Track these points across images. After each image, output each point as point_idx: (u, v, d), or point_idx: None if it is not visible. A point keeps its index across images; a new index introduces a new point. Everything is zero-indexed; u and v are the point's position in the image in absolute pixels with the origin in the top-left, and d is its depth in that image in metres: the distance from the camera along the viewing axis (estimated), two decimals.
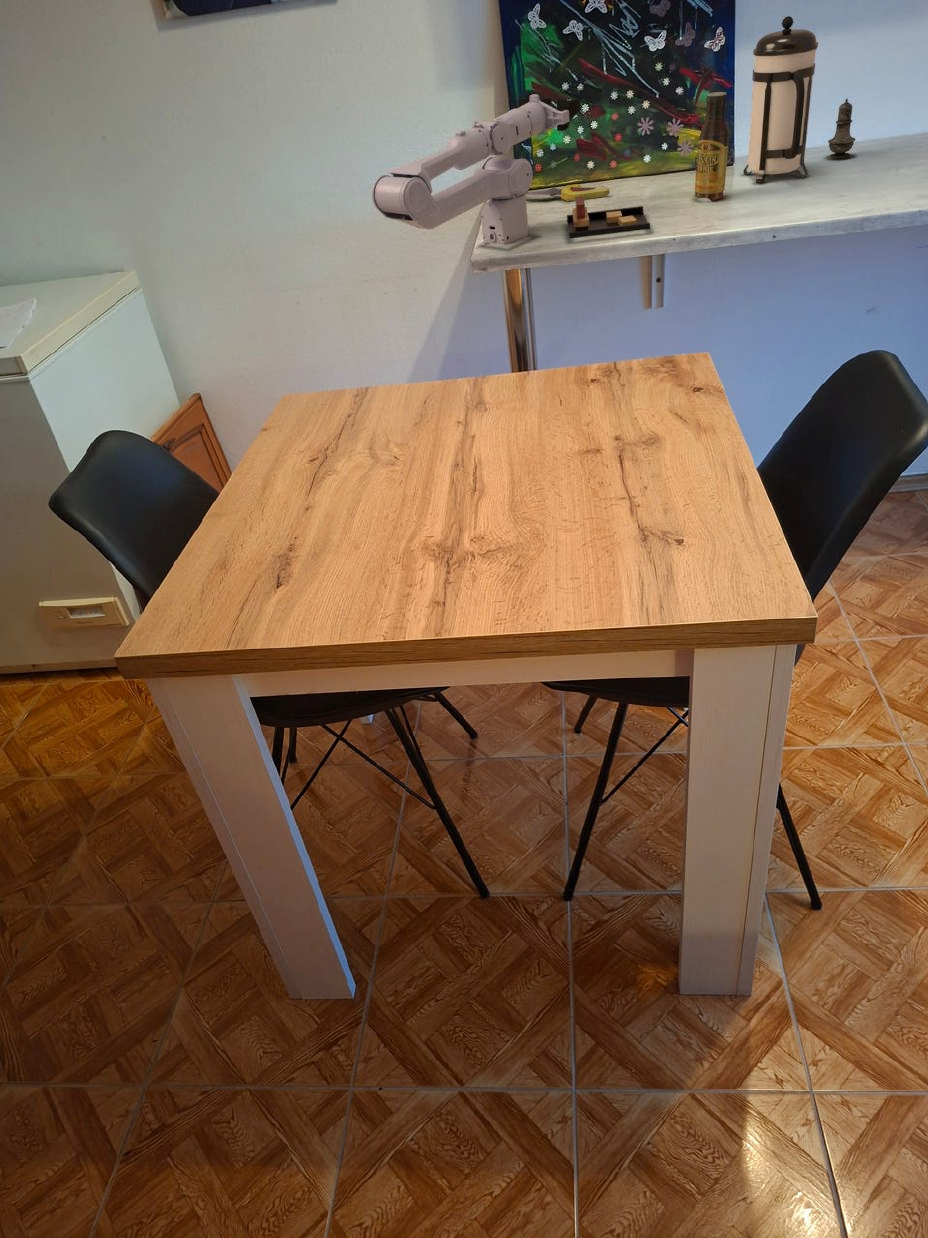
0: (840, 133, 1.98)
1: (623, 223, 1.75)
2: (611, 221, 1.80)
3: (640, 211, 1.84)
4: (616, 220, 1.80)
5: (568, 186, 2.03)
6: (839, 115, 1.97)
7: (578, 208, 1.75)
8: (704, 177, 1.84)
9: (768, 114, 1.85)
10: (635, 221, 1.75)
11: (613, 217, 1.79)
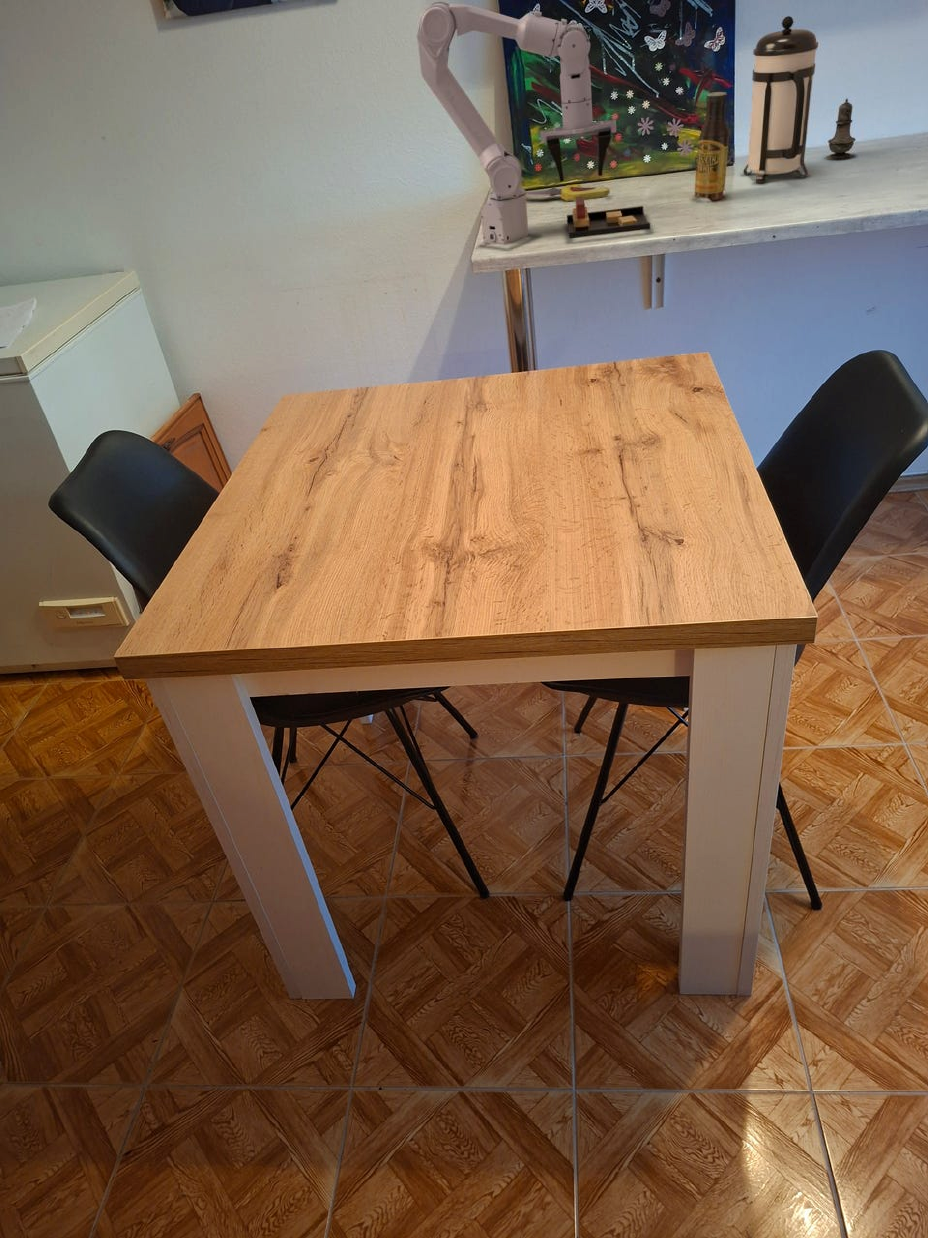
0: (840, 133, 1.98)
1: (623, 223, 1.75)
2: (611, 221, 1.80)
3: (640, 211, 1.84)
4: (616, 220, 1.80)
5: (568, 186, 2.03)
6: (839, 115, 1.97)
7: (578, 208, 1.75)
8: (704, 177, 1.84)
9: (768, 114, 1.85)
10: (635, 221, 1.75)
11: (613, 217, 1.79)
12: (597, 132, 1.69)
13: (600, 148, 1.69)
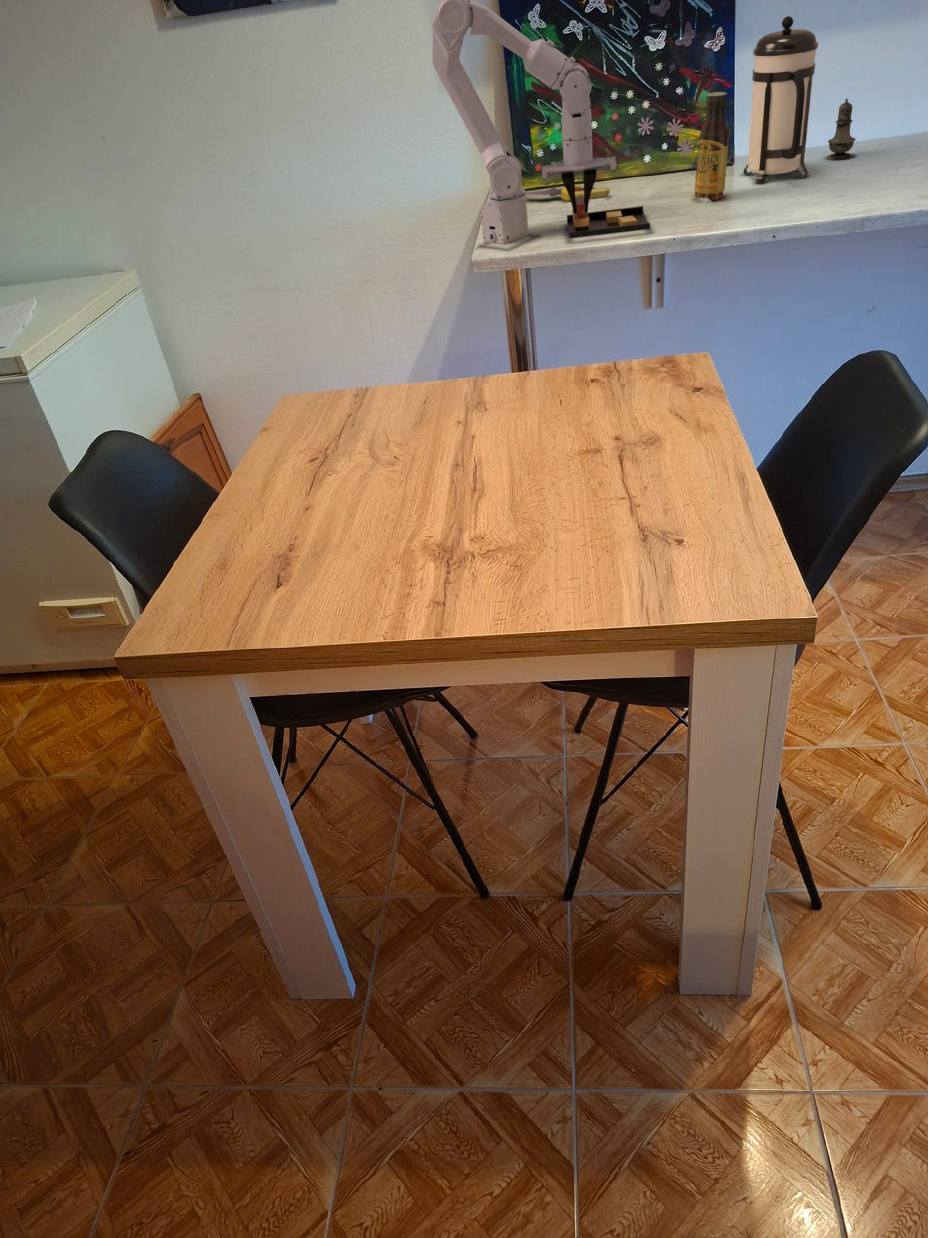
0: (840, 133, 1.98)
1: (623, 223, 1.75)
2: (611, 221, 1.80)
3: (640, 211, 1.84)
4: (616, 220, 1.80)
5: None
6: (839, 115, 1.97)
7: (578, 208, 1.75)
8: (704, 177, 1.84)
9: (768, 114, 1.85)
10: (635, 221, 1.75)
11: (613, 217, 1.79)
12: (597, 169, 1.73)
13: (586, 186, 1.74)
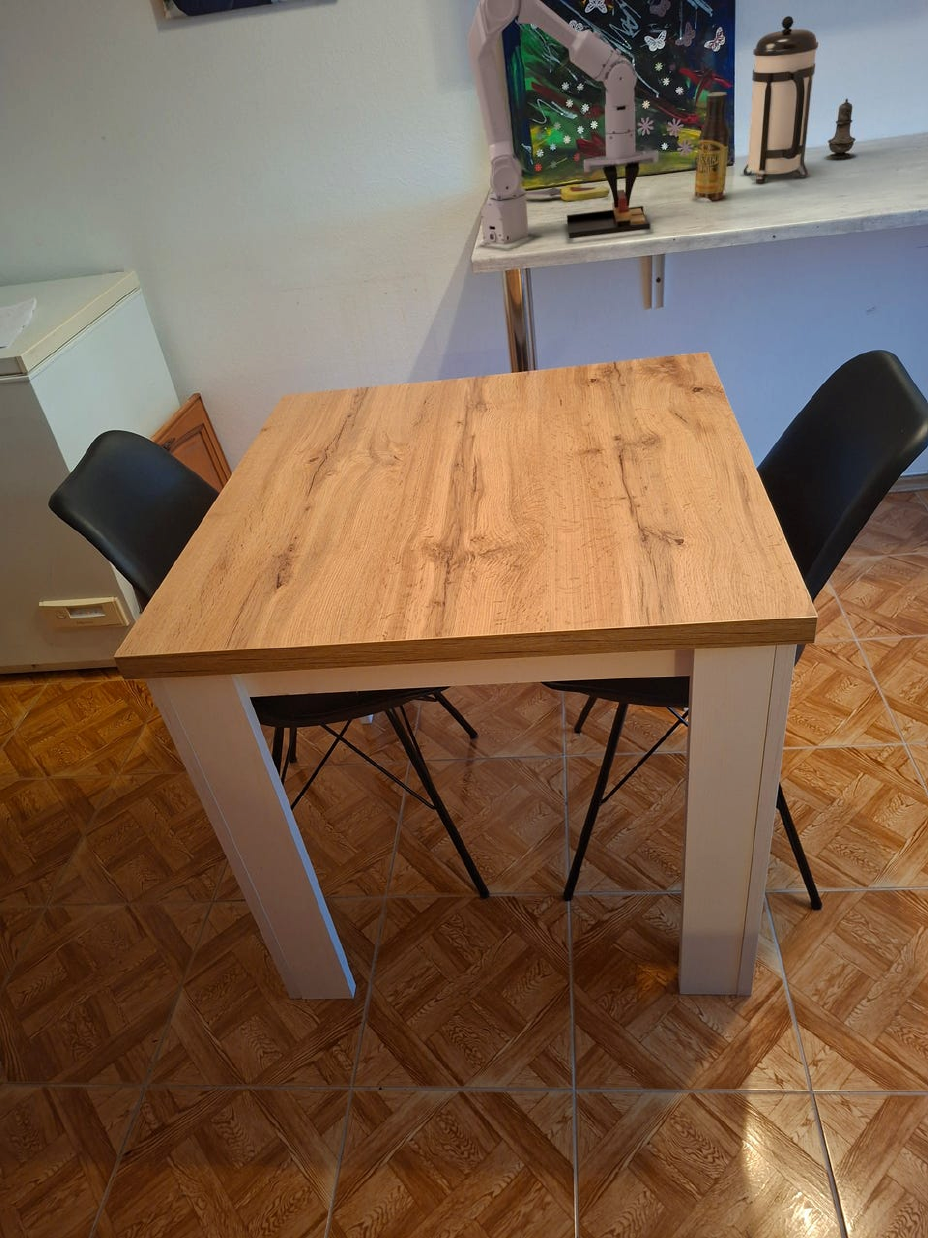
0: (840, 133, 1.98)
1: (631, 222, 1.75)
2: None
3: None
4: None
5: (568, 186, 2.03)
6: (839, 115, 1.97)
7: (620, 202, 1.74)
8: (704, 177, 1.84)
9: (768, 114, 1.85)
10: (643, 221, 1.75)
11: (633, 214, 1.79)
12: (639, 162, 1.72)
13: (628, 180, 1.73)
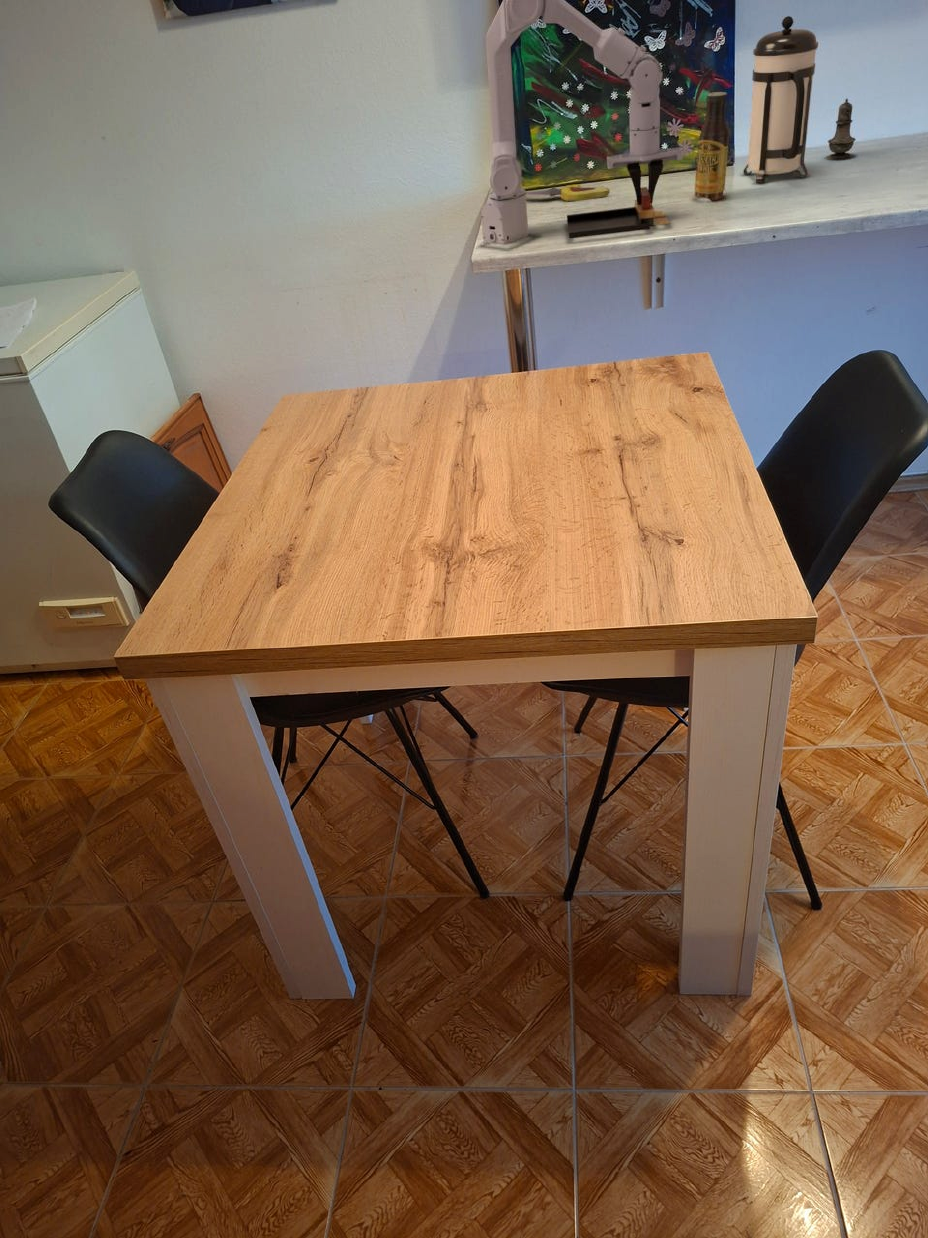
0: (840, 133, 1.98)
1: None
2: None
3: None
4: None
5: (568, 186, 2.03)
6: (839, 115, 1.97)
7: (644, 199, 1.73)
8: (704, 177, 1.84)
9: (768, 114, 1.85)
10: (667, 223, 1.75)
11: (655, 217, 1.79)
12: (663, 159, 1.72)
13: (652, 177, 1.72)
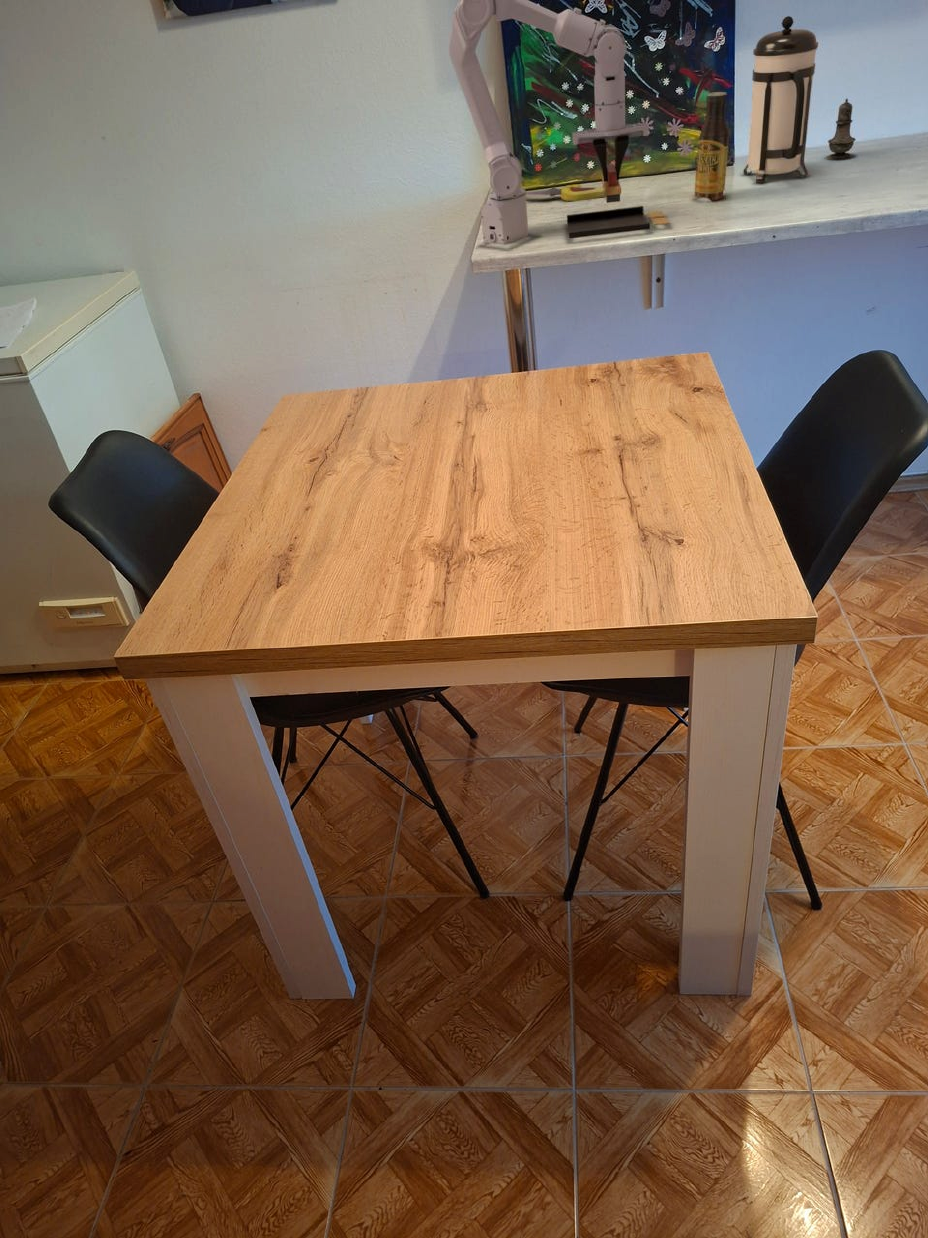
0: (840, 133, 1.98)
1: None
2: None
3: (640, 211, 1.84)
4: None
5: (568, 186, 2.03)
6: (839, 115, 1.97)
7: (610, 175, 1.71)
8: (704, 177, 1.84)
9: (768, 114, 1.85)
10: (667, 223, 1.75)
11: (655, 217, 1.79)
12: (629, 135, 1.69)
13: (618, 153, 1.70)
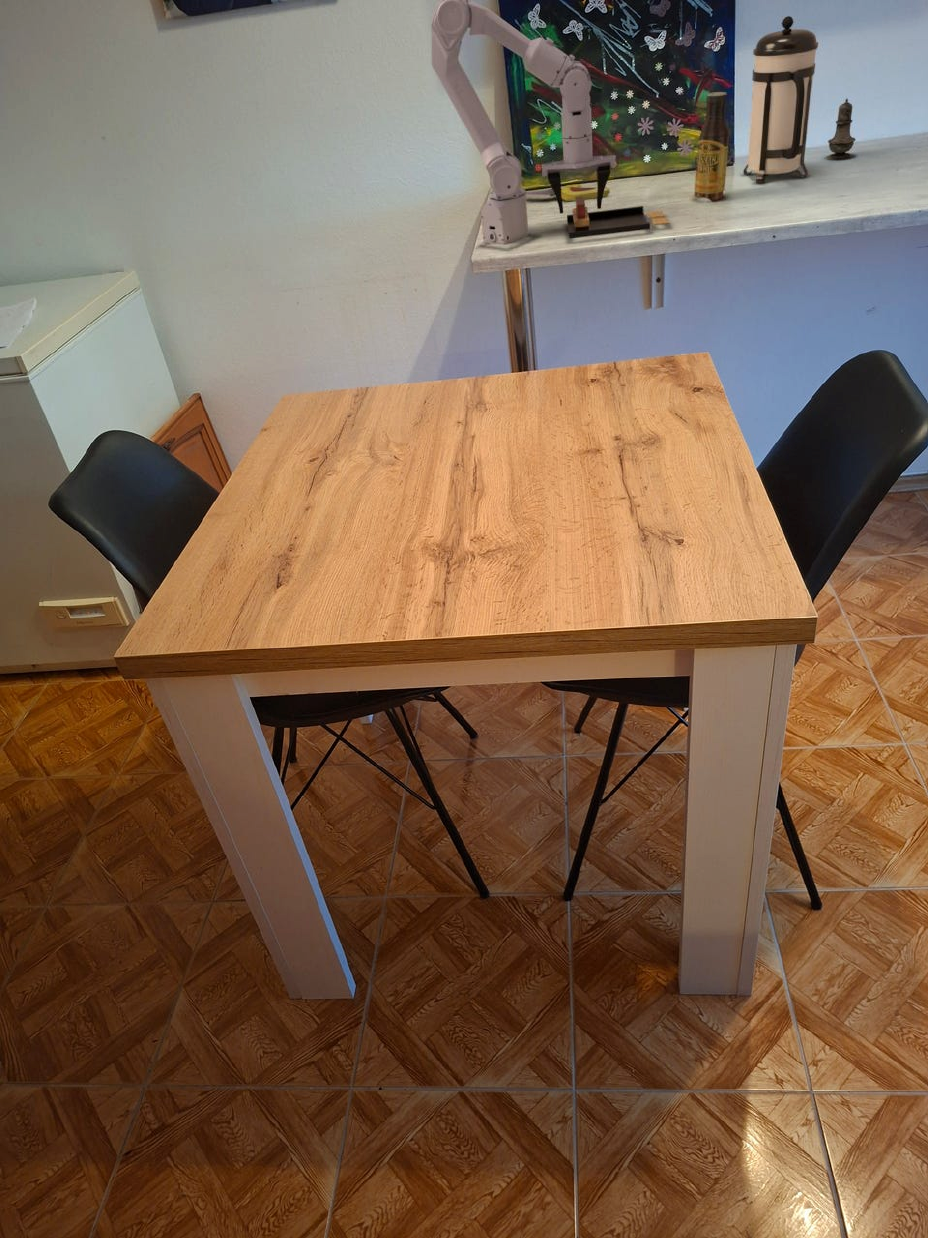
0: (840, 133, 1.98)
1: None
2: None
3: (640, 211, 1.84)
4: None
5: (568, 186, 2.03)
6: (839, 115, 1.97)
7: (578, 208, 1.75)
8: (704, 177, 1.84)
9: (768, 114, 1.85)
10: (667, 223, 1.75)
11: (655, 217, 1.79)
12: (597, 167, 1.73)
13: (599, 182, 1.73)
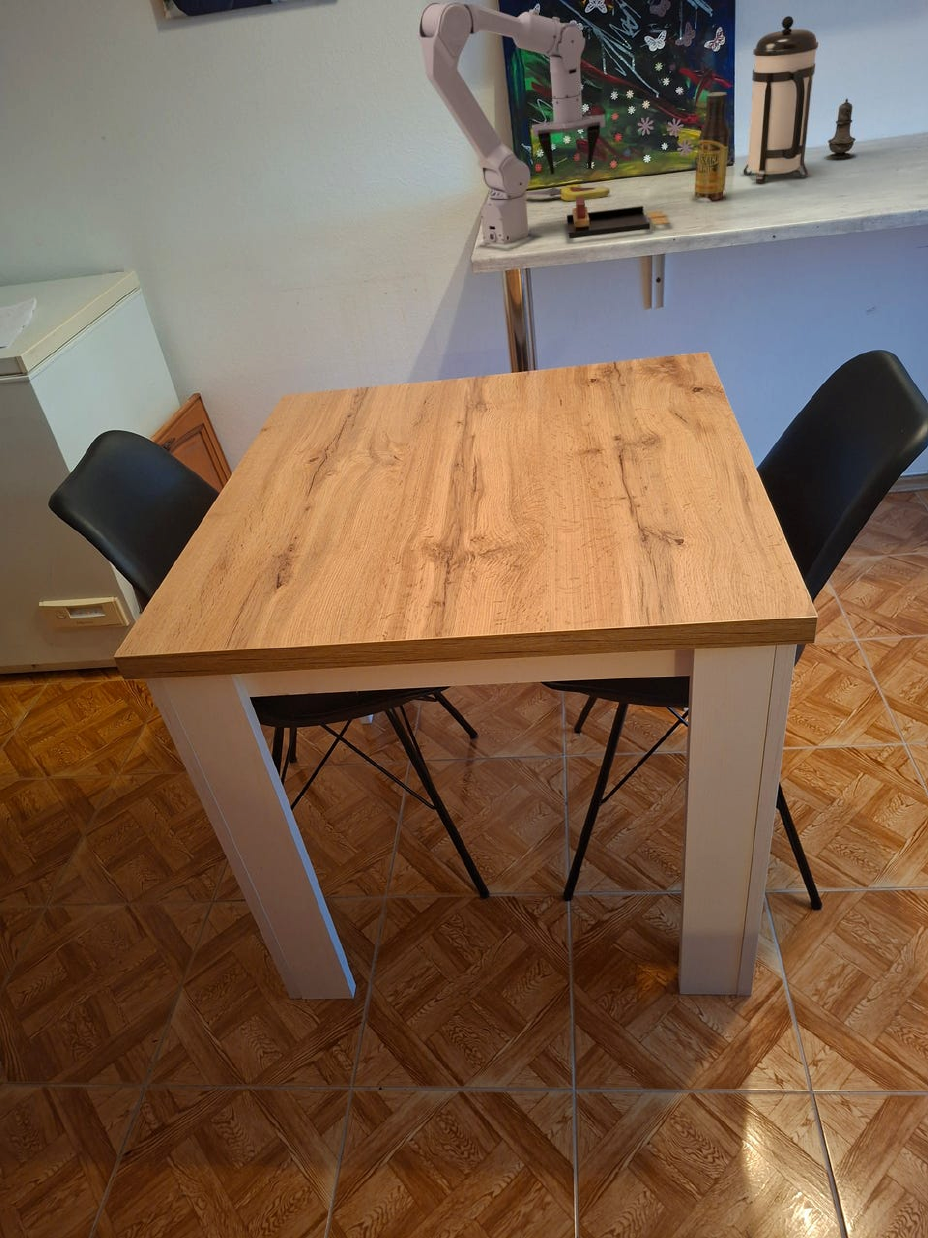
0: (840, 133, 1.98)
1: None
2: None
3: (640, 211, 1.84)
4: None
5: (568, 186, 2.03)
6: (839, 115, 1.97)
7: (578, 208, 1.75)
8: (704, 177, 1.84)
9: (768, 114, 1.85)
10: (667, 223, 1.75)
11: (655, 217, 1.79)
12: (587, 127, 1.75)
13: (589, 142, 1.75)
